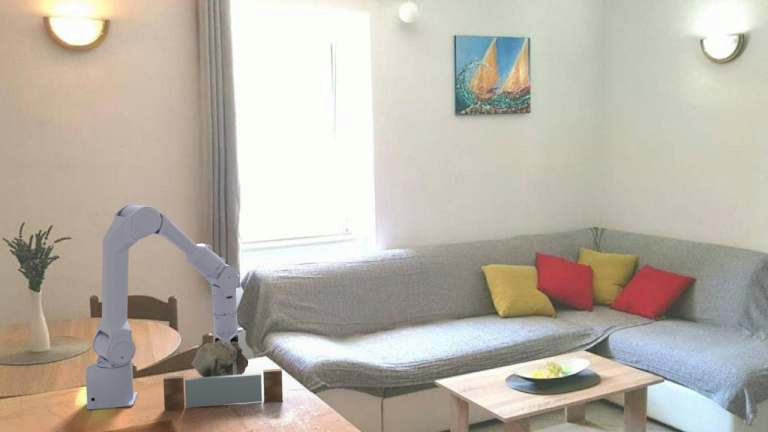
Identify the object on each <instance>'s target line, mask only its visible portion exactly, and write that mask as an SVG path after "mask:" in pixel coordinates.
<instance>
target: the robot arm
mask: <svg viewBox="0 0 768 432" xmlns="http://www.w3.org/2000/svg"><path fill="white" fill-rule="evenodd" d="M153 234H155V235H160V236H161V237H162V238H164V239H166V240H167V241H168V242H169V243H171V244H172V245H174V246H175V247H176V248H177V249H178V250H180V251H181V252H182V253H184V255H186V257H185V259H186V262H187V263H188V265H190V267H192V268H193V269H195V270H196V271H197V272H198V273H200V274H201V275H202V276H203V277H204V278H205V279H206V282H207V283H208V284H210V285H211V286H210V287H211V300H212V319H213V331H212V332H213V335H214V337H215V338H214V342H217V341H219V340H222V344H224V343H225V342H226V343H228V344H229V345H231V342H237V343H239V335H238V334H239V333H243V332H244V329H243V327H239V323H238V306H237V305H238V304H237V286H238V284H239V283H240V278H241V276H240V274H238V270H237V269H236V267H234V265H233V266H232V265H229V264H226V259H225V258H224V257H222V256H221V257H220V256H219V255H217V253H215V252H214V251H213V247H212V246H211V245H210V244H205V243H195V242H194V240H192V239H191V238H190V237H189V236H188V235H187V234H186V233H185V232H184V231H183V230H182V229H180V228H179V227H178V226H177V225H176V224H175V223H174V222H173V221H172V220H171V219H170V218H169V217H168V216H167V215H166V214H164V213H161V212H160V211H159V210H158V209H157V208H155V207H154V206H150V205H149V206H148V205H139V204H137V203H129V204H126V205H124V206H123V207H121V208H120V209H118V210H117V211H116V212H115V213H114V218H113V220H112V222H111V224H110V226H109V227H108V229H107V231H106V232H105V234H104V236H103V239H102V268H101V269H102V272H101V273H102V275H101V276H102V277H101V278H102V283H101V284H102V286H101V319H100V321H99V323H97V325H96V333H95V335H94V338H93V340H92V351H93V352H94V353H95V354H96V355H97V360H96V363H92V364H91V363H90V364H88V365H87V368H86V372H85V388H86V389H85V391H86V404H87V406H86V410H99V409H112V408H113V409H114V408H124V407H125V408H126V407H127V408H128V407H133V406H134V403H135V402H136V399H137V396H138V392H137V391H134V378H133V376H134V375H133V358H134V357H135V355H136V350H137V349H136V348H137V347H136V344H135V341H134V340H133V337H132V336H133V335H132V333H133V332H132V331H133V330H132V328H131V326H130V324H129V320H128V316H129V315H128V304H129V303H128V299H129V297H128V296H129V295H128V294H129V250H130V248H131V247H132V246H134V245H135V244H136V243H137V242H138V241H140V240H141V239H142V240H143V239H144V238H148V237H149V236H151V235H153Z"/></svg>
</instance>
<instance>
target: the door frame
mask: <svg viewBox="0 0 768 432" xmlns="http://www.w3.org/2000/svg"><path fill="white" fill-rule="evenodd" d="M262 372H263V374H262V375H263V403H264V404H268V403H269V404H270V403H280V402H281V403H282V402H283V401H284V398H283V395H284V394H283V393H284V392H283V368H270V369H263V371H262ZM162 379H163V382H162V383H163V400H164V401H163V402H164V403H163V404H164V412H166V411H167V412H168V411H180V410H181V411H182V410H185V407H186V403H185V377H184V375H171V376H169V375H167V376H164V377H163V378H162Z"/></svg>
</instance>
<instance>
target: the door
mask: <svg viewBox="0 0 768 432" xmlns="http://www.w3.org/2000/svg"><path fill="white" fill-rule="evenodd" d="M262 389H263V388H262V373H261V372H260V373H259V372H257V373H256V372H255V373H245V374H244V373H242V375H227V376H213V377H202V376H200V377H188V378H187V377H186V378H185V377H184V397H185V407H186V408H195V407H206V406H207V407H209V406H220V405H221V406H222V405H223V406H224V405H234V404H247V403H258V402H260V403H261V402H263V391H262Z"/></svg>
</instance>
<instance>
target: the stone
mask: <svg viewBox="0 0 768 432" xmlns="http://www.w3.org/2000/svg"><path fill="white" fill-rule="evenodd" d="M242 348H243V347H241V345H240V343H239V342H238V343H237V342H231V345H229V344H228V343H226V342H225V343H224V344H222V340H219V341H217V342H215V341H214V342H212V343H211V342H210V343H208V342H207V343H204V344H203V345H202V346H201V347H200V348H199V349H198V350H197V351H196V353H195V357H194V359H193V360H192V362H191V366H192V367H193V368H194V369H195V371H196V372H197V373H198V374H199V376H200V377H213V376H227V375H242V374H244V373H245V372H246V369H247V367H248V366H249V359H248V358H247V357H246V356H245V355H244V354H243V349H242Z"/></svg>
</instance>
